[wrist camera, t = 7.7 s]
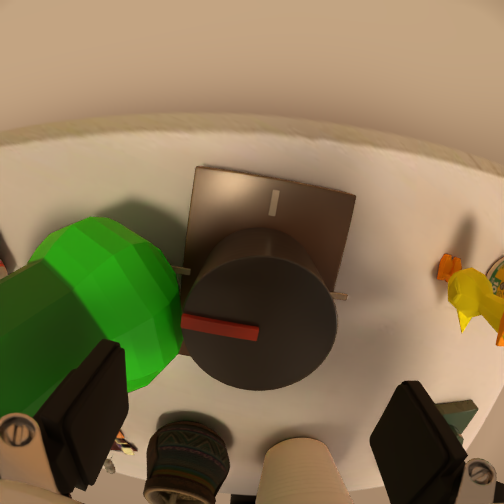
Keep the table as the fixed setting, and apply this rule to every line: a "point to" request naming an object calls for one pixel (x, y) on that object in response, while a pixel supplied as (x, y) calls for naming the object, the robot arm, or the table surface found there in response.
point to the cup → (301, 475)
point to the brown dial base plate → (264, 220)
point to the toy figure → (472, 295)
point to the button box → (458, 415)
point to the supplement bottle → (497, 278)
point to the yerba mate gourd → (185, 464)
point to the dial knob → (259, 312)
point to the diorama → (118, 445)
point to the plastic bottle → (85, 310)
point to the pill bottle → (2, 270)
